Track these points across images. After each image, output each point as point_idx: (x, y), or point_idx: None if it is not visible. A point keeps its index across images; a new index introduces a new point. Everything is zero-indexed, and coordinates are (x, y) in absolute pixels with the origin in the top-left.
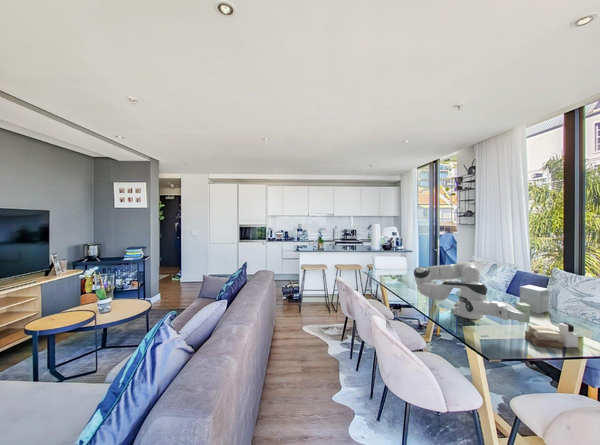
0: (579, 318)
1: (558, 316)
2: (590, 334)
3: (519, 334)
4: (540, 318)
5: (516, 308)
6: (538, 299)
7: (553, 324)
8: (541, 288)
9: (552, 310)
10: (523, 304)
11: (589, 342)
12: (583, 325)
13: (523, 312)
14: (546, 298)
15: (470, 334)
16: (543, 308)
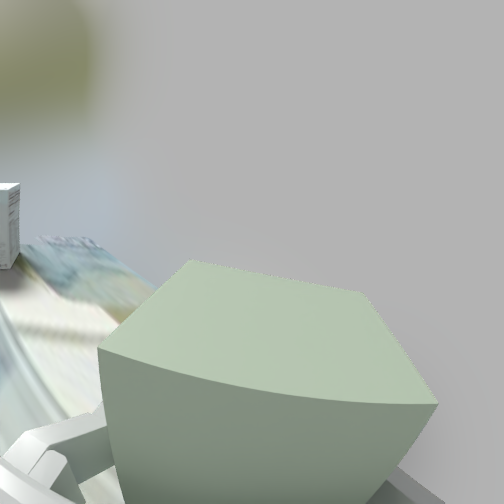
0: (76, 248)
1: (46, 259)
2: (151, 289)
3: (88, 490)
4: (25, 288)
5: (177, 495)
6: (5, 221)
7: (68, 297)
8: (6, 184)
9: (24, 246)
10: (312, 322)
11: None
12: (105, 265)
13: (423, 487)
14: (16, 213)
15: None
16: (14, 247)
